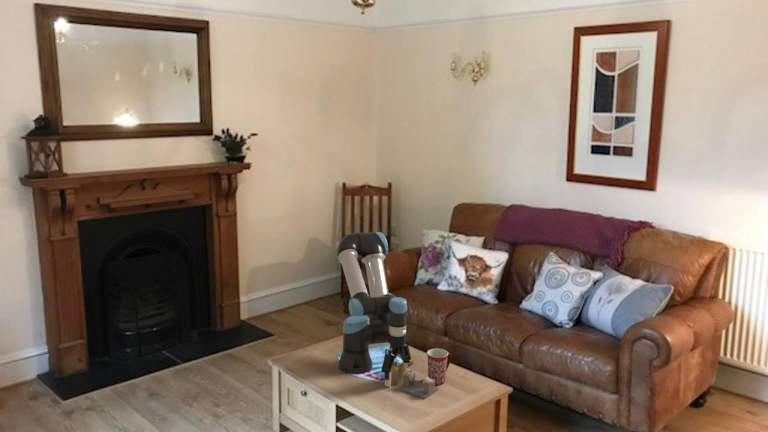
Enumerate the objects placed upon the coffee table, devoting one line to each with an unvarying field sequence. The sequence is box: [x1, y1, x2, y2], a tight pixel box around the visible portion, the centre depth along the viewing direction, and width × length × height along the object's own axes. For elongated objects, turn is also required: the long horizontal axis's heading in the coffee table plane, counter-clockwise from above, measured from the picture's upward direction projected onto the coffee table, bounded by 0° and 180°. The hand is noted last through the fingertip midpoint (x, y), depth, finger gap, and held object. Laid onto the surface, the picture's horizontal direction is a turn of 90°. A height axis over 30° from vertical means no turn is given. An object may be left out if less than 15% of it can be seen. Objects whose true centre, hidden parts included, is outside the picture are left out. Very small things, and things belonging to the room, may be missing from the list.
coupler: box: [390, 360, 404, 386], centre depth 276 cm, size 5×4×8 cm
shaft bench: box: [398, 370, 439, 400], centre depth 269 cm, size 13×10×7 cm
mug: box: [426, 348, 452, 386], centre depth 277 cm, size 13×9×14 cm
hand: (396, 381), depth 276 cm, fingers open, 11 cm apart
